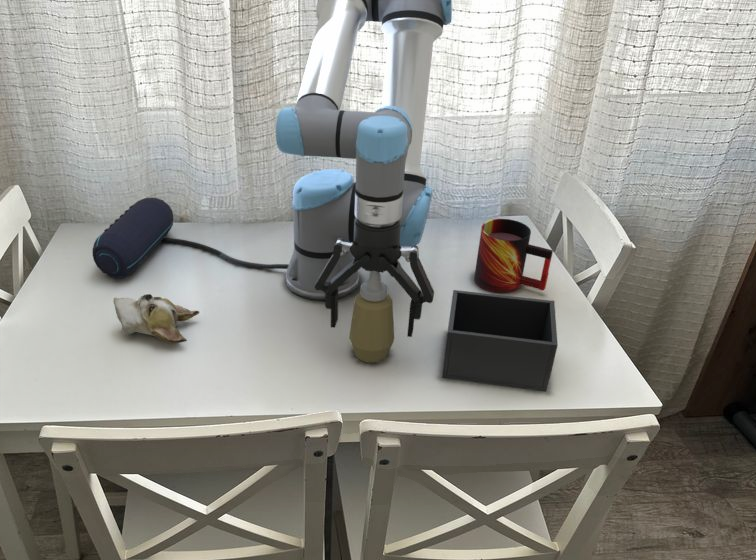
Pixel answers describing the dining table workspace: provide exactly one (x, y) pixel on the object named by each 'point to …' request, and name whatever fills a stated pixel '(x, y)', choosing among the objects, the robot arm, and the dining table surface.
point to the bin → (500, 340)
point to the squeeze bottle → (372, 320)
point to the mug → (507, 257)
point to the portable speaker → (132, 237)
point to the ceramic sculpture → (152, 317)
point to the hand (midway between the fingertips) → (371, 328)
